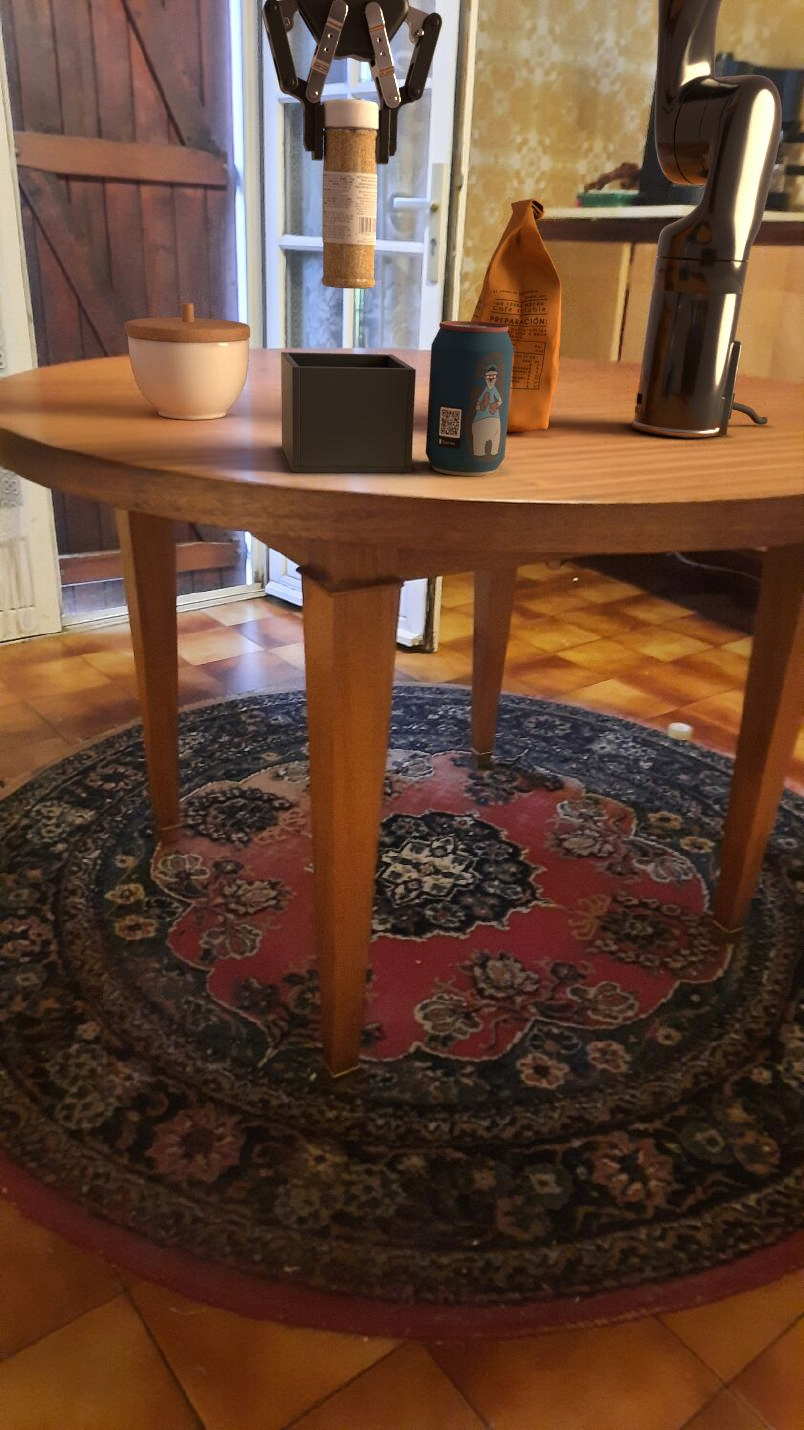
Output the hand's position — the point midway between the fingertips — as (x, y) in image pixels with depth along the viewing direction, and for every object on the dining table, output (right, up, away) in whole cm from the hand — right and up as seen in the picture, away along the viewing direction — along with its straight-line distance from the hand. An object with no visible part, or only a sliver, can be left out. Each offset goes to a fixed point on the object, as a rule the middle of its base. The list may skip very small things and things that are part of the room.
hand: (350, 161), depth 81 cm
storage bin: (-1, -21, +10) cm, 24 cm away
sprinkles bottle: (0, -9, +4) cm, 10 cm away
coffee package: (+15, -13, +29) cm, 35 cm away
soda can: (+10, -23, +9) cm, 26 cm away
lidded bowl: (-18, -12, +28) cm, 36 cm away
